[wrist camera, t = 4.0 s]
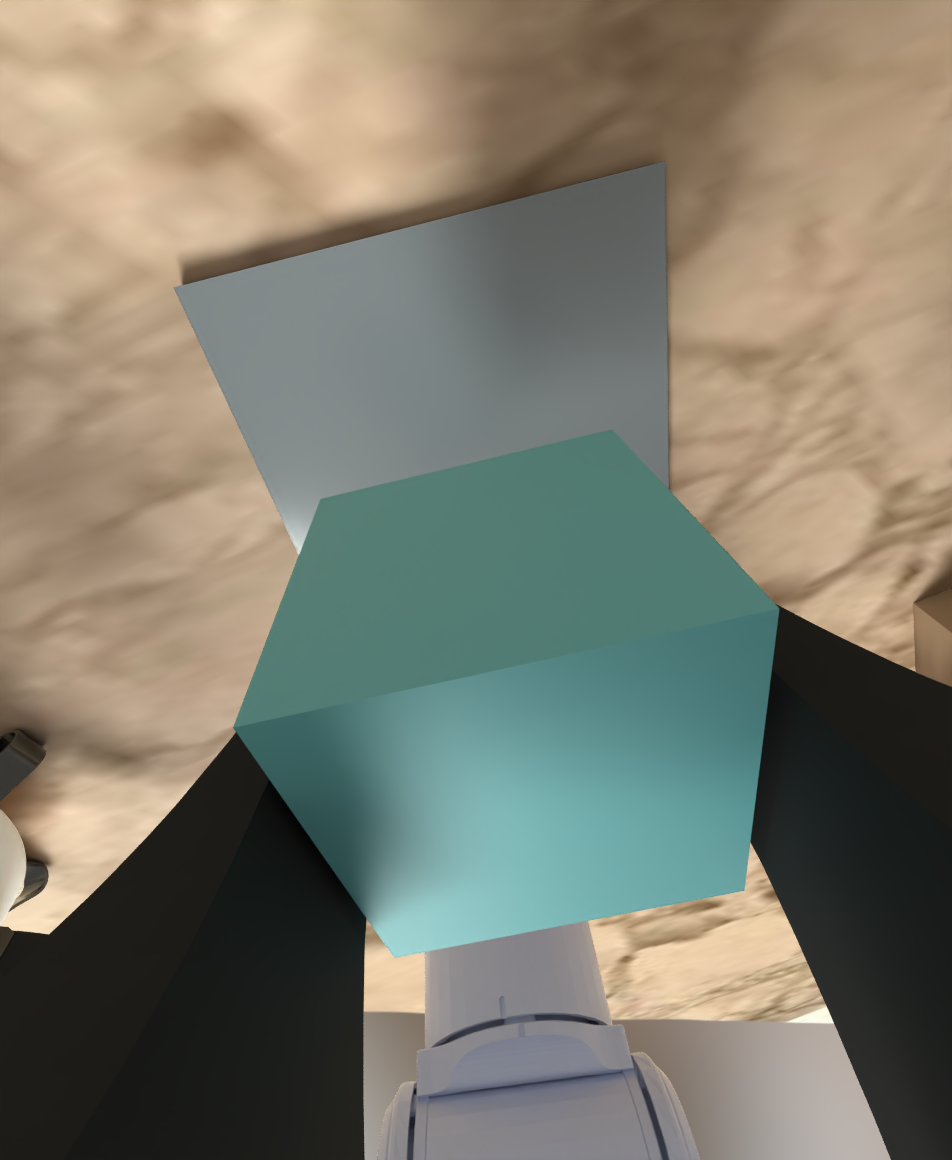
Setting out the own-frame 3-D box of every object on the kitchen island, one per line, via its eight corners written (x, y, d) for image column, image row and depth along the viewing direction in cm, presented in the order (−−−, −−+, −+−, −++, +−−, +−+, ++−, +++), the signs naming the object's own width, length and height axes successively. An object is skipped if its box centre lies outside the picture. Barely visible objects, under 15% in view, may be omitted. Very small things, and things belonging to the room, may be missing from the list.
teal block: (629, 652, 12) (744, 890, 7) (404, 700, 12) (393, 958, 8) (612, 429, 9) (779, 607, 5) (320, 499, 9) (232, 727, 5)
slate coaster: (664, 571, 20) (669, 579, 19) (345, 642, 20) (343, 651, 20) (657, 163, 13) (665, 161, 12) (181, 285, 13) (173, 287, 13)
